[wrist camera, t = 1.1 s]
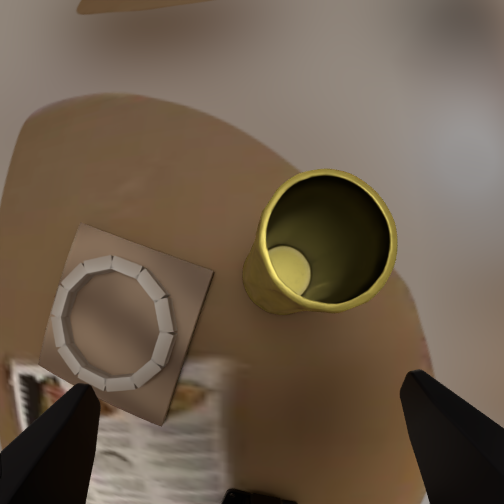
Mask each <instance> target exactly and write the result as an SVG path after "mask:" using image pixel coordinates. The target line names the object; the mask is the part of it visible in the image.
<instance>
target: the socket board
mask: <svg viewBox="0 0 504 504" xmlns="http://www.w3.org/2000/svg"><path fill="white" fill-rule="evenodd" d="M213 275H214V271H212V270H209V269H206V268H203V267H201V266H198V265H195V264H192V263H189V262H186V261H184V260H181V259H178V258H175V257H172V256H170V255H167V254H164V253H161V252H159V251H156V250H153V249H150V248H148V247H145V246H142V245H139V244H137V243H134V242H131V241H129V240H126V239H123V238H121V237H118V236H115V235H113V234H110V233H107V232H105V231H102V230H99V229H97V228H94V227H91V226H89V225H86V224H84V223H81V222H80V225H79V228H78V230H77V233H76V235H75V238H74V241H73V244H72V246H71V249H70V252H69V255H68V258H67V260H66V263H65V266H64V269H63V272H62V276H61V279H60V282H59V285H58V288H57V292H56V295H55V298H54V302H53V305H52V309H51V313H50V316H49V320H48V324H47V328H46V332H45V336H44V340H43V345H42V349H41V354H40V359H39V363H38V365H40V366H41V367H43V368H45V369H46V370H48V371H50V372H51V373H53V374H55V375H56V376H58V377H60V378H62V379H63V380H65V381H67V382H69V383H70V384H72V385H75V384H77V383H85V384H90V385H91V386H92V387H93V389H94V391H95V393H96V396H97V398H99V399H101V400H103V401H105V402H107V403H109V404H111V405H113V406H115V407H117V408H119V409H122V410H124V411H126V412H128V413H130V414H133V415H135V416H137V417H140V418H142V419H144V420H147V421H149V422H151V423H154V424H156V425H159V426H161V427H162V425H163V424H164V422H165V419H166V416H167V412H168V409H169V406H170V403H171V400H172V397H173V394H174V390H175V387H176V384H177V381H178V378H179V375H180V372H181V369H182V366H183V363H184V360H185V357H186V354H187V351H188V348H189V345H190V342H191V339H192V336H193V333H194V330H195V327H196V324H197V321H198V318H199V315H200V312H201V309H202V306H203V304H204V301H205V298H206V295H207V292H208V289H209V286H210V283H211V281H212V278H213Z"/></svg>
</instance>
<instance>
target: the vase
mask: <svg viewBox="0 0 504 504" xmlns="http://www.w3.org/2000/svg"><path fill="white" fill-rule="evenodd" d="M396 255H397V231H396V226H395V222H394V219H393V217H392V215H391V213H390V211H389V209H388V207H387V206H386V204H385V202H384V201H383V199H382V198H381V197H380V196H379V194H378V193H377V192H376V191H375V190H374V189H372V187H370V186H369V185H368V184H367V183H365V182H364V181H362V180H361V179H359V178H358V177H356V176H354V175H352V174H350V173H347V172H344V171H339V170H335V169H317V170H311V171H307V172H302V173H300V174H297V175H295V176H293V177H292V178H290V179H289V180H287V181H286V182H285V183H283V184H282V185H281V186H280V187H279V188H278V189H277V190H276V192H275V193H274V195H273V197H272V198H271V200H270V201H269V202H268V204H267V206H266V207H265V209H264V210H263V211H262V214H261V217H260V221H259V225H258V228H257V232H256V239H255V242H254V244H253V246H252V249H251V251H250V253H249V255H248V257H247V258H246V261H245V263H244V266H243V283H244V287H245V289H246V292H247V294H248V295H249V297H250V299H251V300H252V301H253V302H254V303H255V304H256V305H258V306H259V307H260V308H262V309H263V310H265V311H267V312H269V313H273V314H278V315H288V314H292V313H295V312H300V311H313V312H327V313H340V312H343V311H346V310H349V309H351V308H354V307H356V306H359V305H362V304H364V303H367V302H368V301H370V300H371V299H372V298H373V297H374V296H375V295H376V294H377V293H378V292H379V291H380V290H381V289H382V288H383V286H384V285H385V283H386V281H387V280H388V278H389V276H390V274H391V272H392V270H393V268H394V264H395V261H396Z"/></svg>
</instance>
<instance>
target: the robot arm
mask: <svg viewBox="0 0 504 504" xmlns="http://www.w3.org/2000/svg"><path fill="white" fill-rule="evenodd" d="M400 399H401V403H402V407H403V412H404V416H405V420H406V425H407V429H408V434H409V438H410V441H411V444H412V447H413V450H414V453H415V456H416V460H417V463H418V466H419V469H420V472H421V475H422V479H423V482H424V485H425V488H426V492H427V495H428V499H429V502H430V504H504V428H503V427H501V426H500V425H498V424H497V423H495V422H494V421H493V420H491V419H490V418H489V417H487V416H486V415H484V414H483V413H481V412H480V411H479V410H477V409H476V408H475V407H473V406H472V405H470V404H469V403H468V402H466V401H465V400H464V399H462V398H461V397H459V396H458V395H456V394H455V393H454V392H452V391H451V390H450V389H448V388H447V387H445V386H444V385H443V384H441V383H440V382H438V381H437V380H436V379H434V378H433V377H431V376H430V375H429V374H427V373H426V372H424V371H423V370H420V369H419V370H414V371H410V372H408V373H407V375H406V377H405V380H404V382H403V384H402V387H401V389H400ZM100 409H101V406H100V402H99V399H98V398H97V396H96V393H95V391H94V389H93V387H92V386H91V385H90V384H85V383H77V384H75V385H74V386H73V387H72V388H71V389H70V390H69V391H67V392H66V393H65V394H64V395H63V396H62V397H61V398H60V399H59V400H57V401H56V402H55V403H54V404H53V405H52V406H51V407H50V408H48V409H47V410H46V411H45V412H44V413H43V414H42V415H41V416H40V417H39V418H37V419H36V420H35V421H34V422H33V423H32V424H31V425H30V426H29V427H27V428H26V429H25V430H24V431H23V432H22V433H21V434H20V435H19V436H18V437H16V438H15V439H14V440H13V441H12V442H11V443H10V444H9V445H8V446H7V447H6V448H4V449H3V450H2V451H1V453H0V504H86V498H87V493H88V487H89V482H90V477H91V472H92V467H93V462H94V457H95V452H96V443H97V434H98V425H99V417H100ZM231 493H232V494H234V495H230V494H231ZM221 504H297V503H296V502H292V501H286V500H281V499H280V498H274V497H269V496H264V495H260V494H255V493H253V494H251V493H247V492H243V491H239V490H235V489H229V490H227V492H226V494H225V496H224V498H223V501H222V503H221Z"/></svg>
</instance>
